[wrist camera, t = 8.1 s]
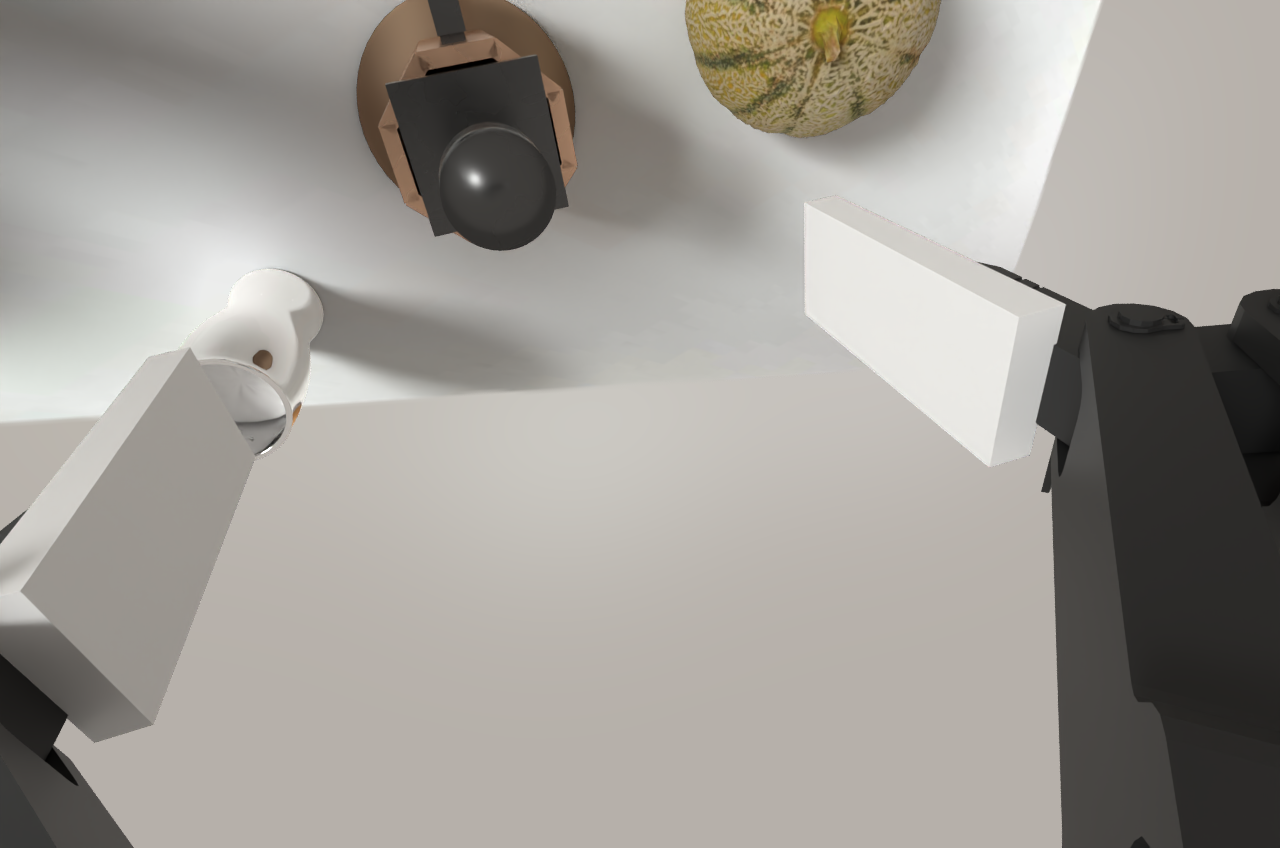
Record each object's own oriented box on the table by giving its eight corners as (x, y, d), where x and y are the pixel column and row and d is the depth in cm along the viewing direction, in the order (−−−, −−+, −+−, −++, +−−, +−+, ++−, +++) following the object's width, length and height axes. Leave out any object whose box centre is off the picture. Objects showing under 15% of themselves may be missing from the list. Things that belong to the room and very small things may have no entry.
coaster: (402, 237, 48) (401, 239, 47) (320, 9, 40) (319, 9, 39) (590, 194, 49) (592, 196, 49) (548, -31, 42) (550, -32, 41)
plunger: (440, 175, 44) (445, 285, 27) (409, 74, 40) (393, 127, 23) (529, 156, 45) (589, 250, 28) (506, 56, 41) (558, 93, 24)
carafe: (424, 198, 46) (422, 259, 35) (357, -6, 39) (329, -9, 28) (553, 170, 47) (590, 220, 36) (510, -33, 40) (539, -45, 30)
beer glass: (338, 349, 51) (308, 460, 38) (236, 355, 49) (171, 473, 37) (320, 260, 47) (280, 351, 35) (209, 263, 45) (127, 360, 33)
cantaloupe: (896, -45, 46) (1064, -61, 34) (781, 156, 52) (890, 203, 39) (730, -195, 40) (864, -283, 27) (618, 53, 45) (688, 72, 33)
